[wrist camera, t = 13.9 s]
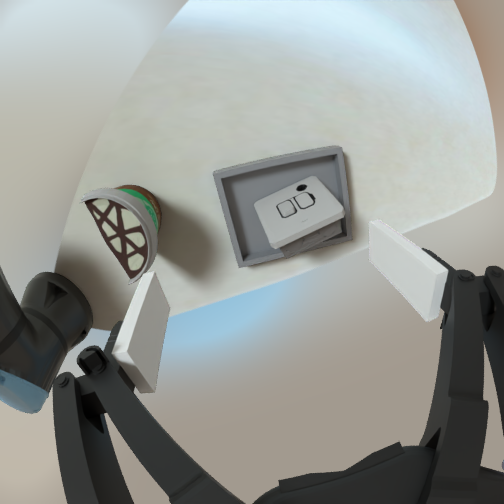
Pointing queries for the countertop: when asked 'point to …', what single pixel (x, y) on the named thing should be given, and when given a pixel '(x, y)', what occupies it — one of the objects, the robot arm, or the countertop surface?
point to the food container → (127, 225)
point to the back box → (268, 182)
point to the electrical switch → (300, 216)
